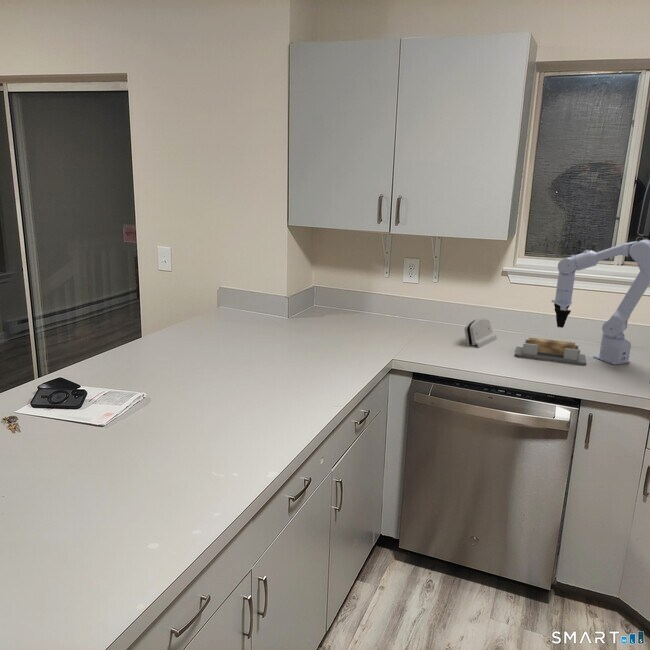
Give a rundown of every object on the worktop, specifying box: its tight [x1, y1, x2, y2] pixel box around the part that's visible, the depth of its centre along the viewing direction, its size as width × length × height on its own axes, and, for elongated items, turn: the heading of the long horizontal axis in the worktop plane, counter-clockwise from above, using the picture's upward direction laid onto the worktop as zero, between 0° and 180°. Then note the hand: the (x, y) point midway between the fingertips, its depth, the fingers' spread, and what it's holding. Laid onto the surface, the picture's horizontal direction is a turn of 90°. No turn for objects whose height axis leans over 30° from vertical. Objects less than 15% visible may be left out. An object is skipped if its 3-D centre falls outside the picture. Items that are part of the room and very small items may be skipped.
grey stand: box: [464, 318, 498, 349], centre depth 231 cm, size 17×5×10 cm, turn 140°
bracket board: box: [514, 338, 587, 367], centre depth 214 cm, size 24×10×5 cm, turn 70°
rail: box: [527, 337, 576, 355], centre depth 214 cm, size 16×3×4 cm, turn 70°
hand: (559, 324), depth 223 cm, fingers open, 7 cm apart
